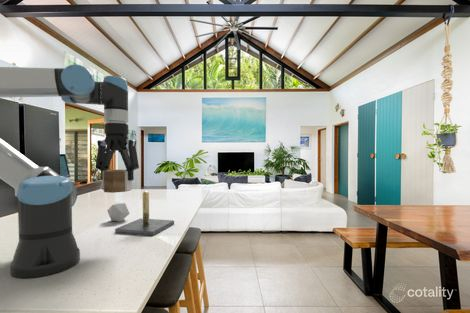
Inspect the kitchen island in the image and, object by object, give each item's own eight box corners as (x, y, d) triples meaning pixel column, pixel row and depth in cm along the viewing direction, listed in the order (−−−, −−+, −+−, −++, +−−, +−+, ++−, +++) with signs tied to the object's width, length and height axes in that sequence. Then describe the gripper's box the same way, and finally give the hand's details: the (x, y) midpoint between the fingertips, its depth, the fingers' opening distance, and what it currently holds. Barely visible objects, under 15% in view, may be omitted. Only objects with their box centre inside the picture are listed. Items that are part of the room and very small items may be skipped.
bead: (119, 192, 86) (119, 171, 86) (98, 192, 88) (98, 171, 88) (134, 189, 94) (134, 169, 94) (115, 188, 96) (114, 169, 96)
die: (133, 220, 120) (129, 202, 124) (124, 215, 112) (121, 195, 117) (115, 228, 119) (112, 208, 124) (105, 223, 111) (102, 202, 116)
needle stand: (153, 235, 96) (152, 194, 96) (115, 232, 100) (114, 193, 100) (174, 223, 111) (173, 188, 111) (140, 221, 115) (139, 188, 115)
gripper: (149, 123, 92) (150, 189, 92) (98, 125, 97) (99, 187, 97) (136, 120, 84) (137, 192, 85) (82, 123, 90) (83, 190, 90)
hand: (117, 189), depth 91 cm, fingers closed on bead, 8 cm apart
